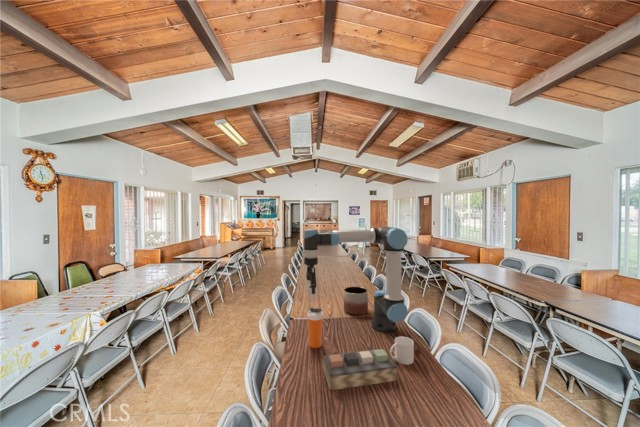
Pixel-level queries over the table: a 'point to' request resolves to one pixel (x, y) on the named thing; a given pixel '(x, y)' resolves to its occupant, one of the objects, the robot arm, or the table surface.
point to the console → (359, 373)
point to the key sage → (380, 355)
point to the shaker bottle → (315, 327)
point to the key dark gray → (350, 359)
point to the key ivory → (365, 357)
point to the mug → (403, 350)
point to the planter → (355, 300)
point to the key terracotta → (335, 361)
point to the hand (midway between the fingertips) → (311, 295)
